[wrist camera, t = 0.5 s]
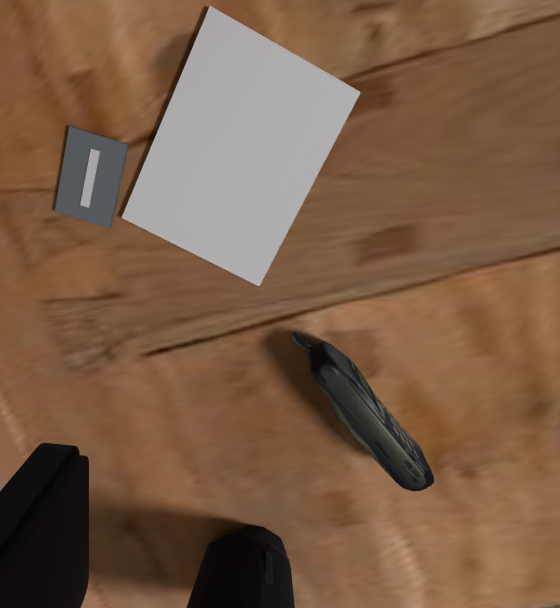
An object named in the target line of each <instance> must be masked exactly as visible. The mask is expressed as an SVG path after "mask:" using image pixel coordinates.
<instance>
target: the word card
mask: <svg viewBox="0 0 560 608" xmlns="http://www.w3.org/2000/svg"><path fill="white" fill-rule="evenodd" d="M127 149H128V144H125V143H122V142H119V141H116V140H112V139H109V138H106V137H103V136H100V135H97V134H94V133H91V132H87V131H84V130H81V129H78V128H75V127H72V126H69V131H68V137H67V143H66V149H65V154H64V160H63V166H62V172H61V178H60V183H59V189H58V195H57V201H56V206H55V212H59V213H62V214H65V215H68V216H72V217H75V218H78V219H82V220H85V221H88V222H91V223H95V224H98V225H101V226H104V227H108V228H111V225H112V221H113V216H114V211H115V206H116V202H117V197H118V192H119V187H120V182H121V178H122V173H123V168H124V163H125V159H126V154H127Z"/></svg>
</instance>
